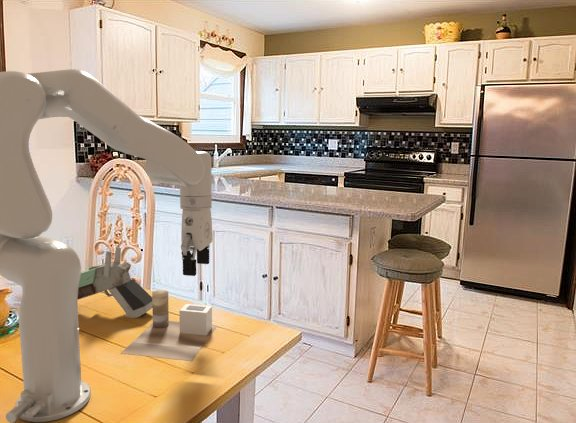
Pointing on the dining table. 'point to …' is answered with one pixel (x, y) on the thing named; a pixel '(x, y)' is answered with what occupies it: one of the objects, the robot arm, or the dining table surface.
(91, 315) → the dining table surface
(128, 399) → the dining table surface
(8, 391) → the dining table surface
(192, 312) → the white rectangular block
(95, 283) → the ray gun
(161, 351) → the board
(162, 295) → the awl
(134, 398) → the dining table surface
